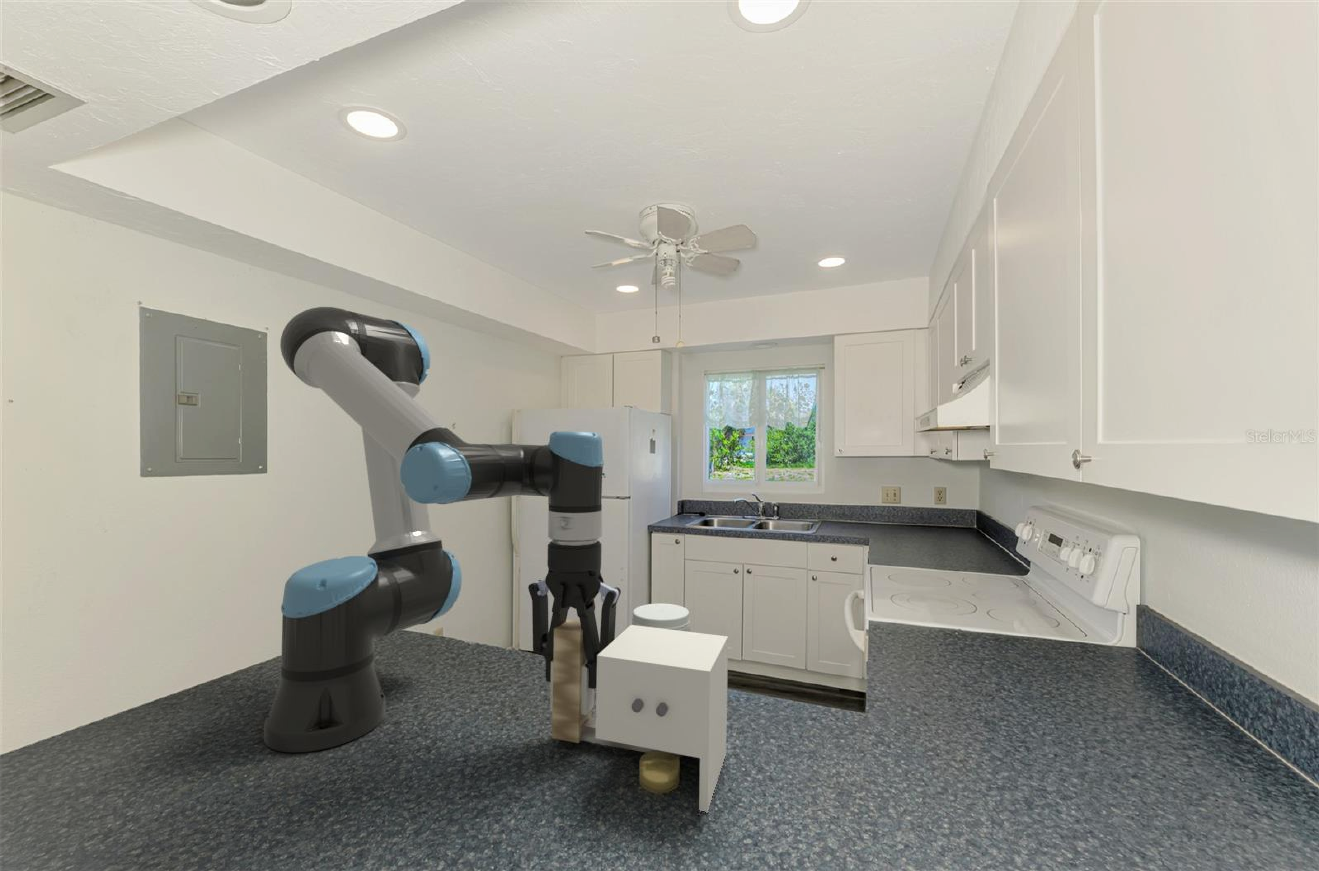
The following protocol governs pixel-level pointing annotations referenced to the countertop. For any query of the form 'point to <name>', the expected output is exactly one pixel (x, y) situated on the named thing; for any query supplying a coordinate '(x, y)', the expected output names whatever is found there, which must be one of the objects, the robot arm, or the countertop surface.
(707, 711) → the cabinet
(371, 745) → the countertop surface
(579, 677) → the scraper tool
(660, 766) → the cylinder
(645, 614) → the supplement tub
